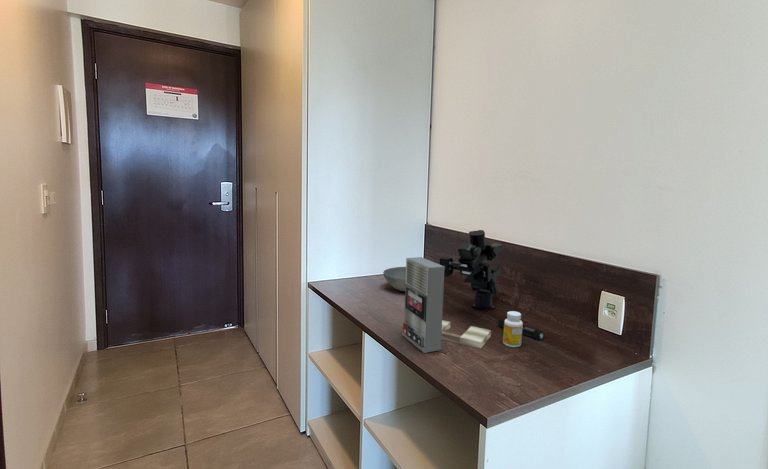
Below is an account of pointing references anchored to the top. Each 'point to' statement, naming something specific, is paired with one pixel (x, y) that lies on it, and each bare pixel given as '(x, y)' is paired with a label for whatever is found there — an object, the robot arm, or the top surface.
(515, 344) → the supplement bottle
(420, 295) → the cassette tape recorder
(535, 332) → the electric trimmer
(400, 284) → the bowl
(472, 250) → the robot arm
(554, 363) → the top surface
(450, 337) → the notched board
